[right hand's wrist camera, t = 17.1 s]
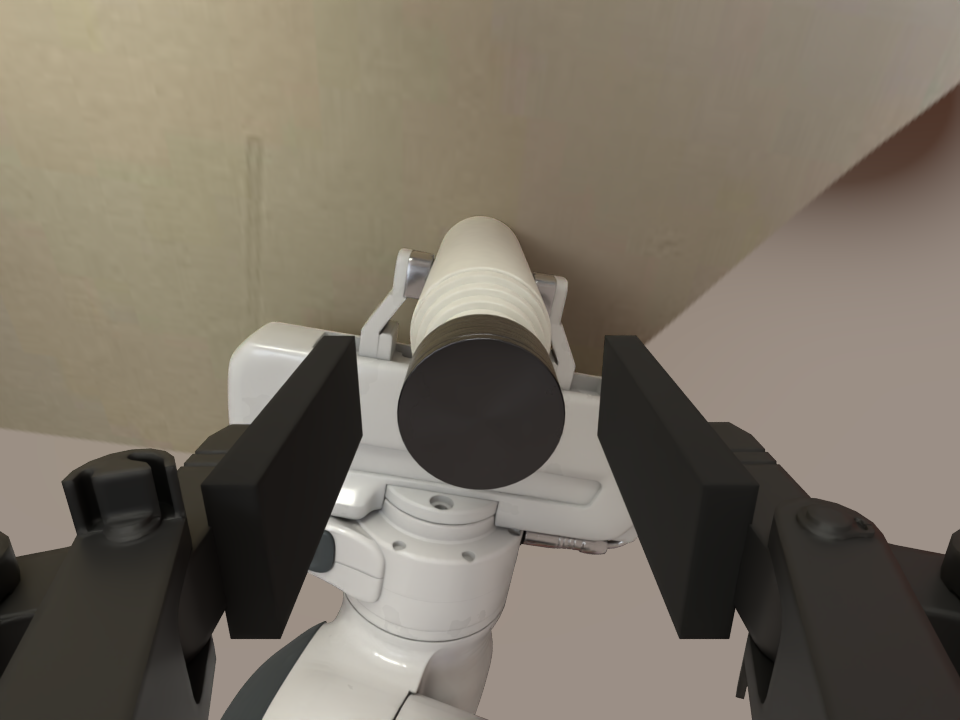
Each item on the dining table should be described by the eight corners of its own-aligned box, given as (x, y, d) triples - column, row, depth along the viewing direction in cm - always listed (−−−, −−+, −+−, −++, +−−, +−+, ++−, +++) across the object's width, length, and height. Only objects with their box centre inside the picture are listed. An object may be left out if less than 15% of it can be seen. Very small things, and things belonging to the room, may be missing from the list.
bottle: (497, 312, 32) (519, 519, 14) (424, 275, 31) (352, 445, 13) (536, 240, 30) (615, 369, 13) (461, 200, 30) (435, 279, 12)
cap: (564, 318, 14) (576, 344, 12) (545, 454, 15) (555, 495, 13) (409, 307, 14) (399, 332, 12) (404, 445, 15) (394, 485, 13)
